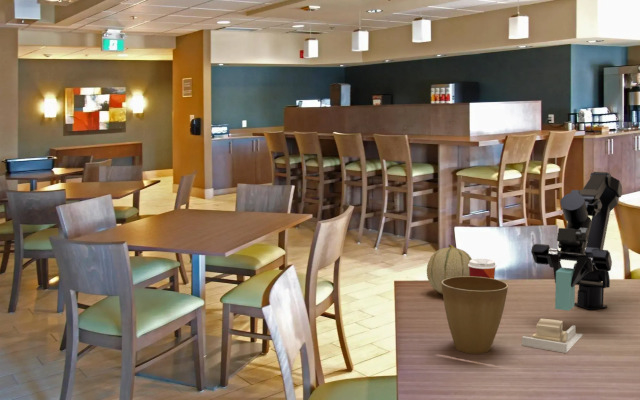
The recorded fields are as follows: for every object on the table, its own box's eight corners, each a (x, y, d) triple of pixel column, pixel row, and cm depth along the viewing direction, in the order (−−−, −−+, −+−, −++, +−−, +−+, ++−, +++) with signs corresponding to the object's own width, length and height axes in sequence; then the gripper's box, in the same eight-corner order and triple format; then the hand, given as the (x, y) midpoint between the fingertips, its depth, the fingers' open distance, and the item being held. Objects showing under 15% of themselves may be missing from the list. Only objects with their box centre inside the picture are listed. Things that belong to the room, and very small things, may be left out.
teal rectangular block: (560, 304, 177) (561, 267, 176) (574, 305, 175) (575, 268, 174) (555, 308, 173) (556, 271, 172) (569, 310, 171) (570, 272, 170)
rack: (541, 330, 176) (542, 320, 176) (583, 336, 171) (583, 326, 170) (521, 347, 163) (522, 336, 163) (565, 355, 158) (566, 344, 157)
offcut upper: (540, 328, 167) (540, 318, 167) (562, 331, 165) (562, 320, 165) (536, 335, 162) (536, 325, 162) (558, 338, 160) (559, 327, 160)
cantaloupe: (437, 302, 203) (438, 252, 202) (419, 290, 218) (419, 243, 216) (484, 299, 207) (485, 249, 205) (462, 287, 221) (463, 240, 219)
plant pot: (494, 365, 152) (496, 293, 150) (430, 354, 159) (431, 285, 158) (514, 346, 164) (516, 279, 162) (454, 336, 172) (455, 272, 170)
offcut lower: (540, 337, 169) (540, 327, 168) (566, 341, 165) (566, 331, 165) (531, 345, 163) (532, 335, 162) (558, 350, 159) (558, 339, 159)
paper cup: (496, 314, 190) (497, 264, 189) (467, 313, 192) (468, 263, 190) (494, 307, 198) (495, 258, 196) (467, 305, 200) (467, 257, 198)
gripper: (534, 212, 180) (519, 263, 172) (611, 217, 169) (599, 271, 162) (542, 238, 187) (528, 287, 180) (616, 244, 177) (605, 296, 169)
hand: (563, 285), depth 172 cm, fingers closed on teal rectangular block, 3 cm apart
